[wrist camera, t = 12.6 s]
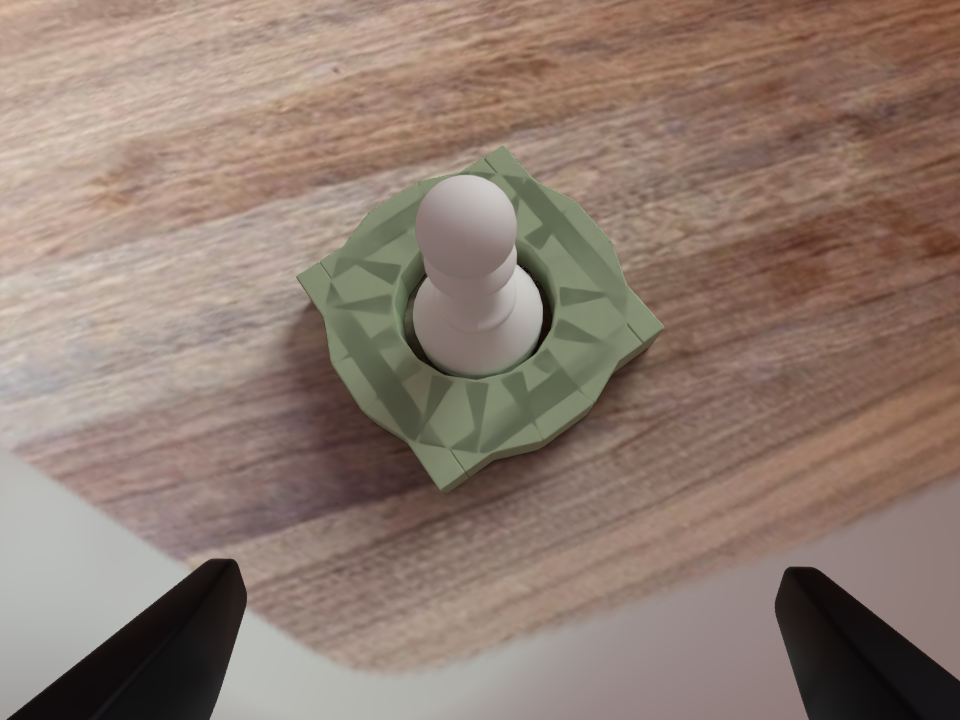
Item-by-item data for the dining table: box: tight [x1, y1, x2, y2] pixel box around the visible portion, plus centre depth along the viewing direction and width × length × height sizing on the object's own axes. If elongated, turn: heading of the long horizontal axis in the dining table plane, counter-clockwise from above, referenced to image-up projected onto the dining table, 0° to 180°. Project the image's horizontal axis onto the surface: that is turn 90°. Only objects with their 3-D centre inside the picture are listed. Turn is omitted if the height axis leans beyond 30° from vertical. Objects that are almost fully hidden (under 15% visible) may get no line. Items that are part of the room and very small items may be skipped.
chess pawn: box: [413, 175, 543, 380], centre depth 18 cm, size 5×5×9 cm
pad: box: [296, 146, 664, 494], centre depth 22 cm, size 11×11×2 cm
